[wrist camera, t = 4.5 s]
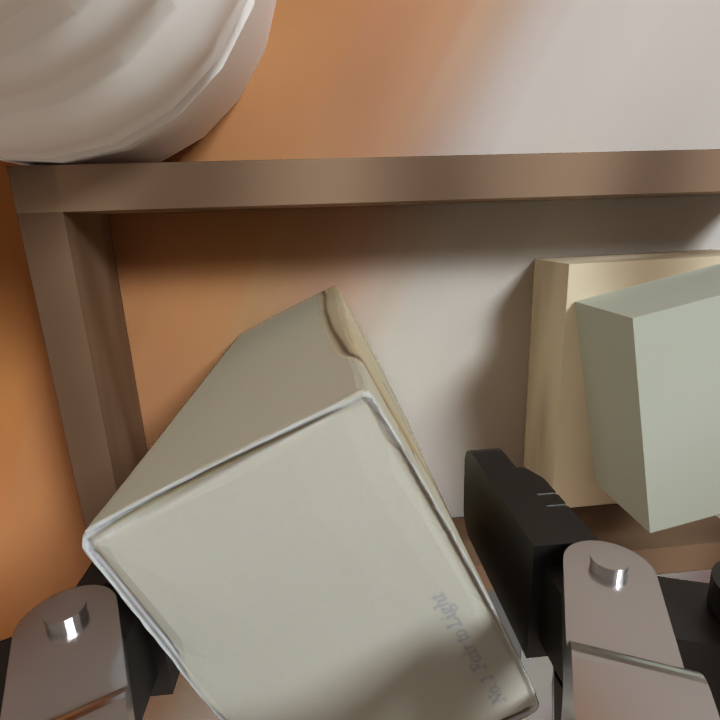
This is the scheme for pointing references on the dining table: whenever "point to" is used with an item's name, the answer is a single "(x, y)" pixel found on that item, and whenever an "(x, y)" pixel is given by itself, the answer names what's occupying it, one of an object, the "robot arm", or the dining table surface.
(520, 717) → the skincare box
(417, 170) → the rack
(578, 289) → the offcut lower
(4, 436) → the dining table surface
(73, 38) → the honey pot
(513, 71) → the dining table surface
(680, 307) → the offcut upper
